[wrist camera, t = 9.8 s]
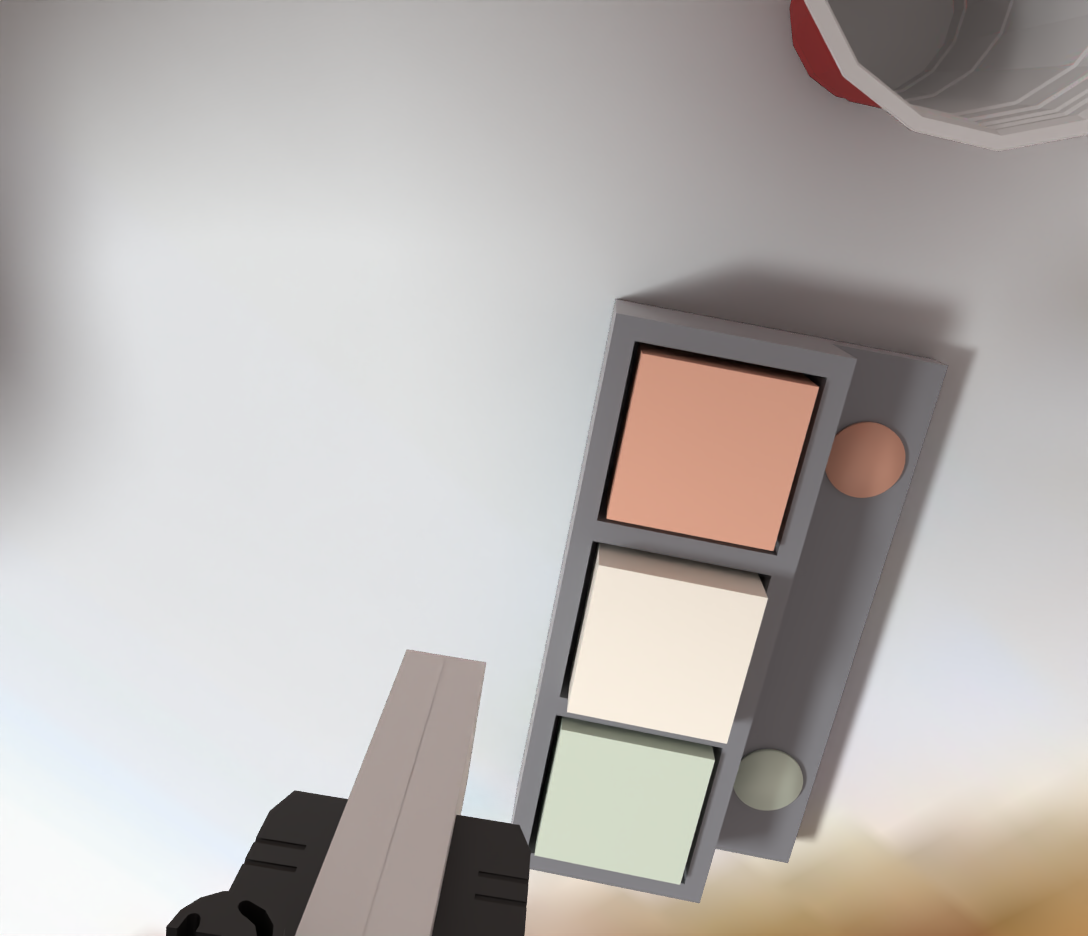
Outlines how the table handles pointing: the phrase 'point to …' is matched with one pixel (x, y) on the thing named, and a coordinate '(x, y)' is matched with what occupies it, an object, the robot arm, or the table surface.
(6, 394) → the table surface
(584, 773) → the sage key
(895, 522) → the keypad
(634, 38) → the table surface
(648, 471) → the terracotta key
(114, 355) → the table surface
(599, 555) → the cream key
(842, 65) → the plastic cup
